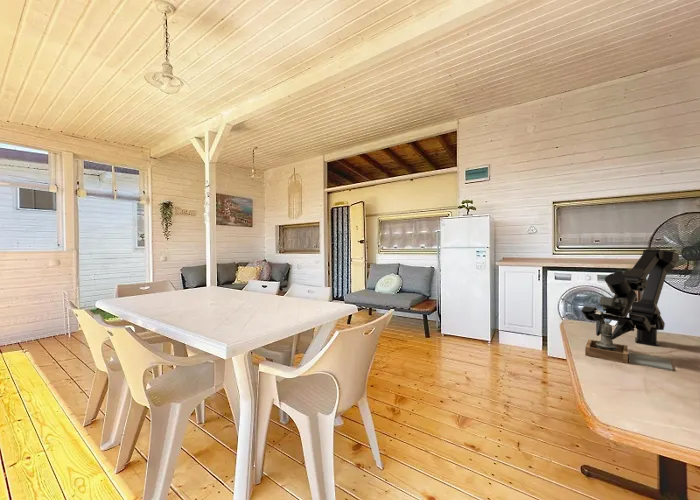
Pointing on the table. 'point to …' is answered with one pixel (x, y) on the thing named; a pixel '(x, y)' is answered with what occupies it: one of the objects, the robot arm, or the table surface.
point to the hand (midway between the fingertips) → (604, 336)
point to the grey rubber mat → (650, 361)
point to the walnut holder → (606, 352)
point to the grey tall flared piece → (606, 338)
